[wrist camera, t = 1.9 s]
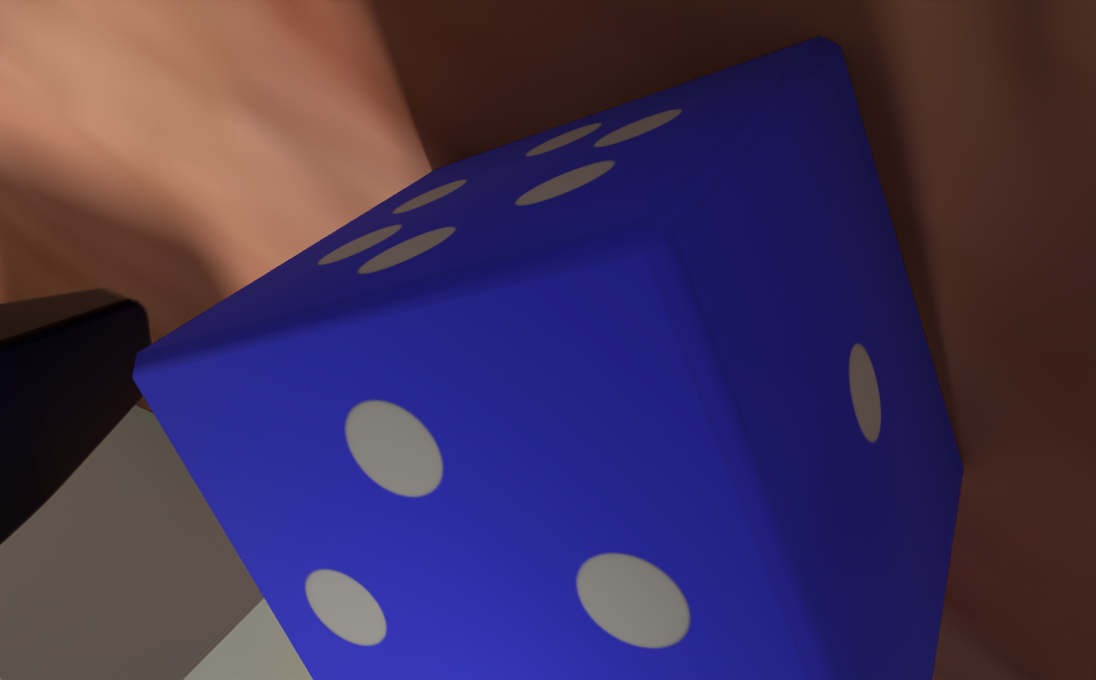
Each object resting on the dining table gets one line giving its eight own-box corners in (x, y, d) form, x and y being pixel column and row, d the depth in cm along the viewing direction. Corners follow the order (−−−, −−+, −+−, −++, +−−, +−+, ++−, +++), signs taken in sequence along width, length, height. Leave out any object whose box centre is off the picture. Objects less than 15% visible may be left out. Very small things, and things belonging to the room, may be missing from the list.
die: (968, 472, 10) (909, 888, 6) (584, 502, 13) (379, 807, 9) (838, 26, 9) (657, 224, 5) (434, 167, 12) (111, 364, 8)
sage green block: (353, 692, 18) (157, 941, 14) (152, 584, 20) (-75, 783, 16) (356, 504, 15) (114, 748, 11) (123, 394, 17) (-162, 578, 13)
